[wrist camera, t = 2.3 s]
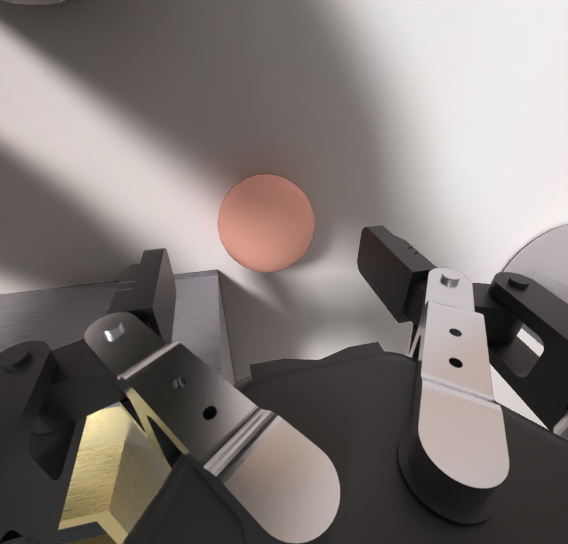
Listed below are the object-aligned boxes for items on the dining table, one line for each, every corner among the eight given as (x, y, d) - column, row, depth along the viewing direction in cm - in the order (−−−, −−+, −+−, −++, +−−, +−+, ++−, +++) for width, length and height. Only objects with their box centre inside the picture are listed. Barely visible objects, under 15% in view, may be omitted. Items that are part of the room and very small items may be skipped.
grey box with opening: (217, 269, 20) (224, 451, 10) (237, 400, 28) (252, 571, 18) (-113, 307, 17) (-515, 604, 8) (13, 441, 25) (-107, 669, 15)
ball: (302, 160, 17) (331, 189, 13) (300, 240, 20) (324, 284, 16) (210, 166, 16) (211, 198, 12) (222, 248, 19) (225, 297, 15)
